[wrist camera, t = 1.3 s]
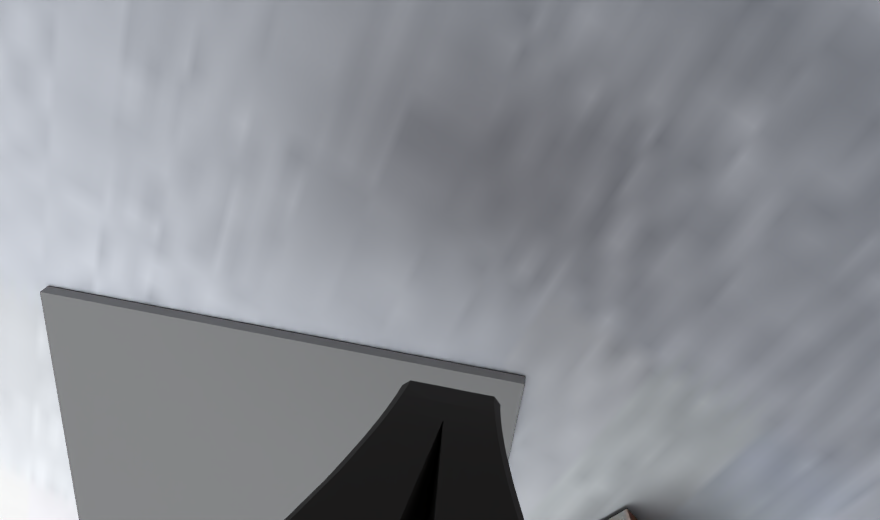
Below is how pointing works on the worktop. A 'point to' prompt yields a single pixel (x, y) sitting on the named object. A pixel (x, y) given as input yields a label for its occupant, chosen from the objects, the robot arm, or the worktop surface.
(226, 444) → the mat
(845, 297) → the worktop surface
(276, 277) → the worktop surface
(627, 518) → the food container
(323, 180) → the worktop surface
